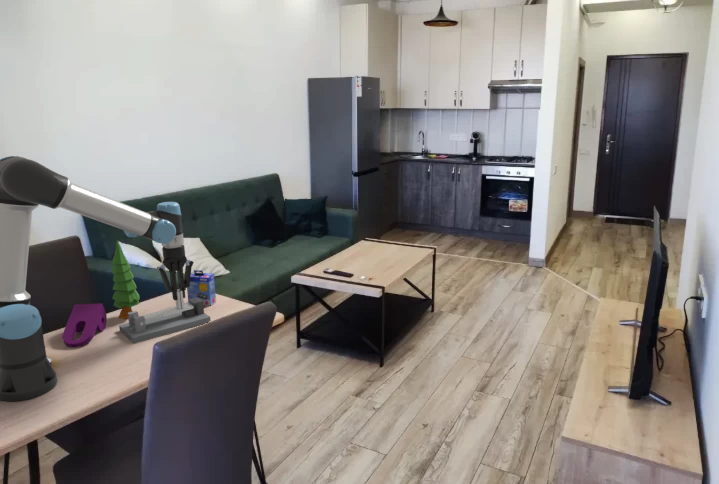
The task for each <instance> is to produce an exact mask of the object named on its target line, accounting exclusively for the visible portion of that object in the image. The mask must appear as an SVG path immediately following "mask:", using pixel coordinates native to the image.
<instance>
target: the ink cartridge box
mask: <svg viewBox="0 0 719 484" xmlns="http://www.w3.org/2000/svg"><path fill="white" fill-rule="evenodd" d="M186 291H187V303H190V304H191V305H192V303H191V302H189V299H193V298H199V299H201V300H202V301H203V305H211V306H213V305H214V304H215V303H216V302H217V297H216V285H215V274H214V273H208V272H204V271H203V270H198V269H197V270H196V269H194V270H193V272H191V277H190V286H189V287H187V288H186ZM213 303H214V304H213ZM212 304H213V305H212Z"/></svg>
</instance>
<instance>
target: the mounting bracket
mask: <svg viewBox="0 0 719 484" xmlns="http://www.w3.org/2000/svg"><path fill="white" fill-rule="evenodd" d="M107 317H108V316H107V312H106V310H105V307H104V304H103V303H81V304H80V303H79V304H78V303H77V304H74V305H73V307H72V310H71V312H70V315H69V317H68V319H67V322H66V325H65V326H64V329H63V332H62V334H61V335H62V336H61V337H62V341H63V343H64V345H65V346H66V347H68V348H82V347H84V346H86V345H88V344H89V343H90V342H91V341H93V339H94V337H95V334H96V332H104V330H105V329H107V321H108V318H107ZM76 333H81V336H80V337H79V338H78V339H75V336H76Z"/></svg>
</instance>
